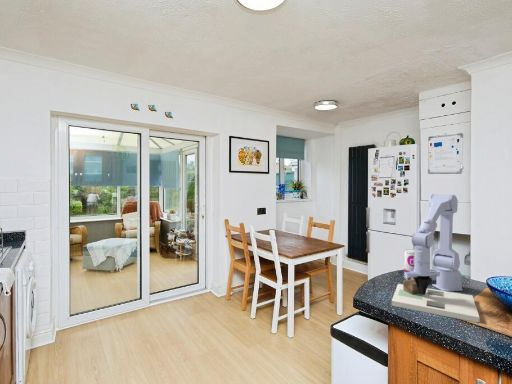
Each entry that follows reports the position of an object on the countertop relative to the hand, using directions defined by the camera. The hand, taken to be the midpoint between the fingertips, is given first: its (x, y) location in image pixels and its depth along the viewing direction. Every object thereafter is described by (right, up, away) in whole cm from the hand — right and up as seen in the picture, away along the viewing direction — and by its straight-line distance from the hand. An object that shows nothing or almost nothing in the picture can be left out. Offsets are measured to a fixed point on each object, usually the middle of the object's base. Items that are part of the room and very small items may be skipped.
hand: (422, 293), depth 120 cm
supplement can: (+11, -2, +26) cm, 28 cm away
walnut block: (-1, -1, +5) cm, 5 cm away
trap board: (+4, -3, -3) cm, 6 cm away
